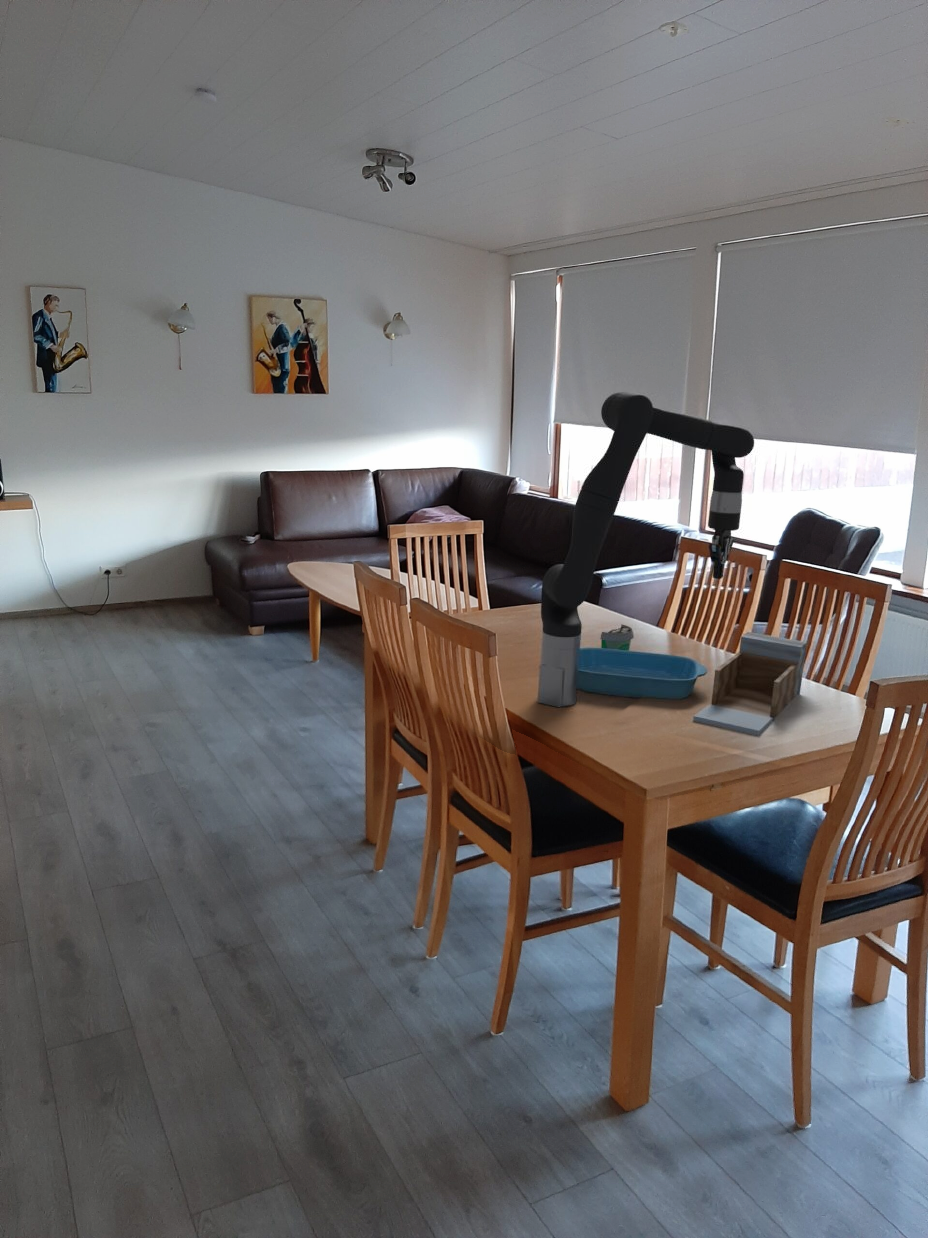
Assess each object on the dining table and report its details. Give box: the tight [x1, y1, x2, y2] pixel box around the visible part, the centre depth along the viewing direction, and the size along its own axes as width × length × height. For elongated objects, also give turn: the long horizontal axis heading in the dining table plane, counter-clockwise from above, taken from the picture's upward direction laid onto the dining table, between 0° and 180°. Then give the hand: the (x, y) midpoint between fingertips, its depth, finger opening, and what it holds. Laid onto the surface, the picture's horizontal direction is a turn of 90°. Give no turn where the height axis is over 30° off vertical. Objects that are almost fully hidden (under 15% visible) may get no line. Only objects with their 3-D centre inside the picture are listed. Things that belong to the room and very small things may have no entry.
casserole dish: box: [577, 646, 708, 700], centre depth 242 cm, size 37×22×7 cm, turn 76°
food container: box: [599, 624, 635, 651], centre depth 260 cm, size 12×6×10 cm, turn 143°
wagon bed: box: [710, 631, 808, 719], centre depth 233 cm, size 26×15×14 cm, turn 148°
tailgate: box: [692, 703, 776, 737], centre depth 218 cm, size 1×16×13 cm
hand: (717, 578), depth 237 cm, fingers closed
